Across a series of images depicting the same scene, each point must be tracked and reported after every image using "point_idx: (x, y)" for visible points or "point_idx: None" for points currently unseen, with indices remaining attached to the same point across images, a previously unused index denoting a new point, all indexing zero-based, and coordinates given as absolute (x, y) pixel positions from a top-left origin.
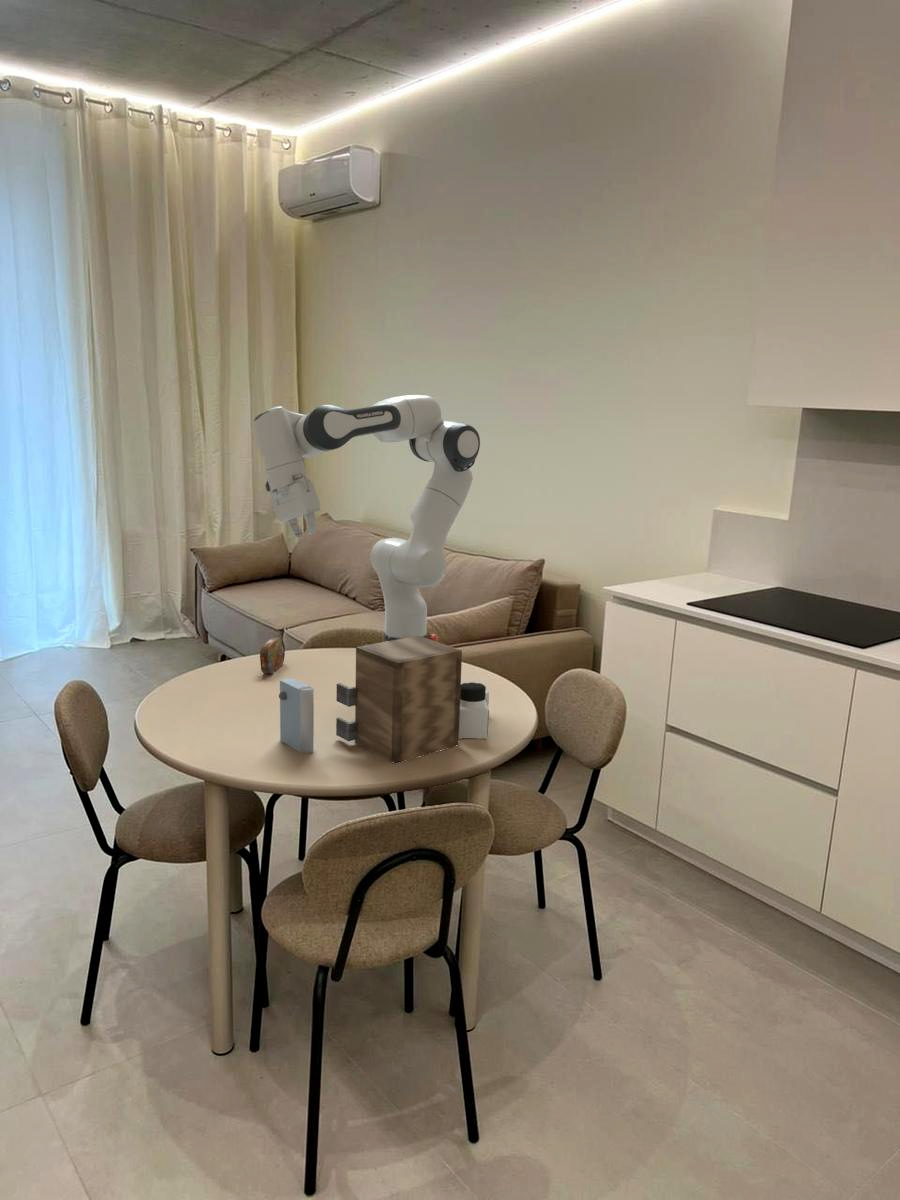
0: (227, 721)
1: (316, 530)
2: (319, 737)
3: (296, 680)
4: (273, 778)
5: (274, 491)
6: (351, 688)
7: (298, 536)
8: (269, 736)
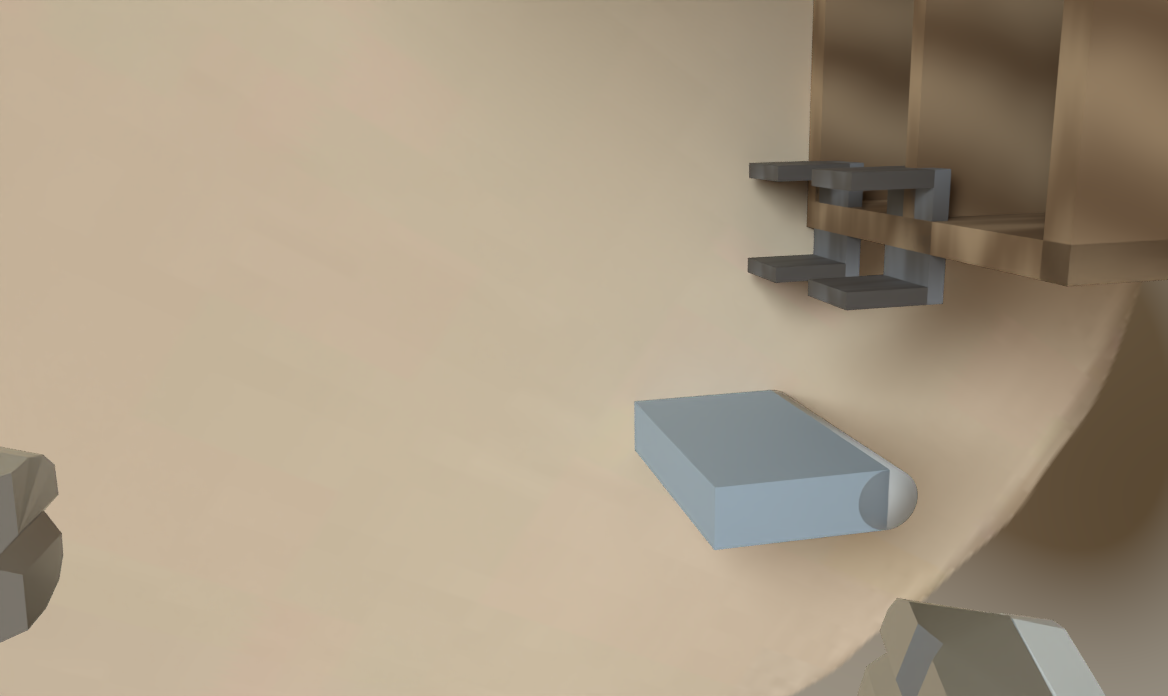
0: (332, 541)
1: (1067, 651)
2: (689, 313)
3: (761, 486)
4: (888, 591)
5: None
6: (940, 286)
7: (45, 559)
8: (574, 466)
